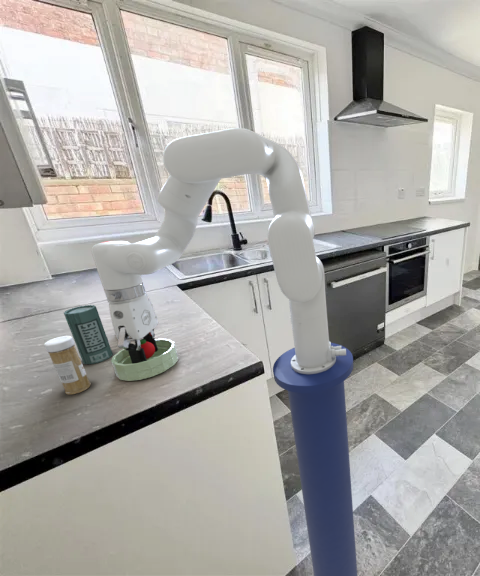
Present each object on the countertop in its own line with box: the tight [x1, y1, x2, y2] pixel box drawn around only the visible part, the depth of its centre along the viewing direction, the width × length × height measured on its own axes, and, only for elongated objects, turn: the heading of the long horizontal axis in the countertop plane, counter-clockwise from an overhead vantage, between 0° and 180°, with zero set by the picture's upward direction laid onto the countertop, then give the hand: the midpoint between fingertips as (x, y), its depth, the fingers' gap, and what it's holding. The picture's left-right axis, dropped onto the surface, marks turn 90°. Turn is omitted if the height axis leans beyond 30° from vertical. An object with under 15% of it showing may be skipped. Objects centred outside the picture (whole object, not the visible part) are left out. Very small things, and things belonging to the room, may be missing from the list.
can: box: [63, 304, 114, 365], centre depth 85 cm, size 6×6×15 cm
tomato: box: [140, 338, 155, 359], centre depth 80 cm, size 5×5×5 cm
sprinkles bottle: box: [43, 335, 92, 396], centre depth 72 cm, size 5×5×13 cm
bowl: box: [110, 338, 179, 382], centre depth 81 cm, size 13×13×5 cm
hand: (145, 356), depth 81 cm, fingers closed on tomato, 4 cm apart
